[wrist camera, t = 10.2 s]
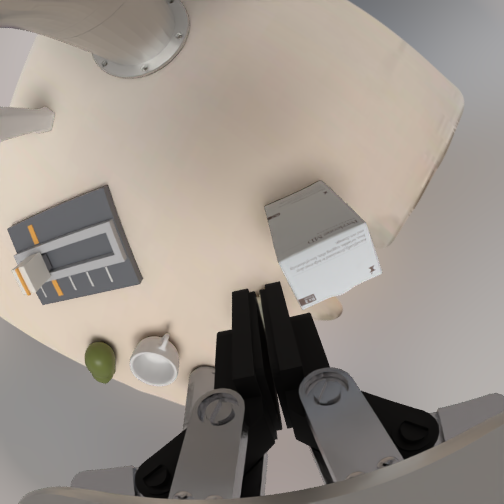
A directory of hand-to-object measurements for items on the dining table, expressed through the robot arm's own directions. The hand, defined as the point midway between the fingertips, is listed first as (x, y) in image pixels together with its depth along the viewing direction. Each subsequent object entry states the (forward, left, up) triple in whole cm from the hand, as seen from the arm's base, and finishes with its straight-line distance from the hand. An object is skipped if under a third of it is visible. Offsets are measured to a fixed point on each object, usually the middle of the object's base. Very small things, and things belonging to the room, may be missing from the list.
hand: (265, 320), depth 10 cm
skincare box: (+6, +6, -27) cm, 29 cm away
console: (+3, -27, -27) cm, 38 cm away
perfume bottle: (-16, -24, -27) cm, 40 cm away
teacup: (+22, -19, -27) cm, 40 cm away
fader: (+3, -32, -25) cm, 41 cm away
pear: (+24, -31, -28) cm, 48 cm away
